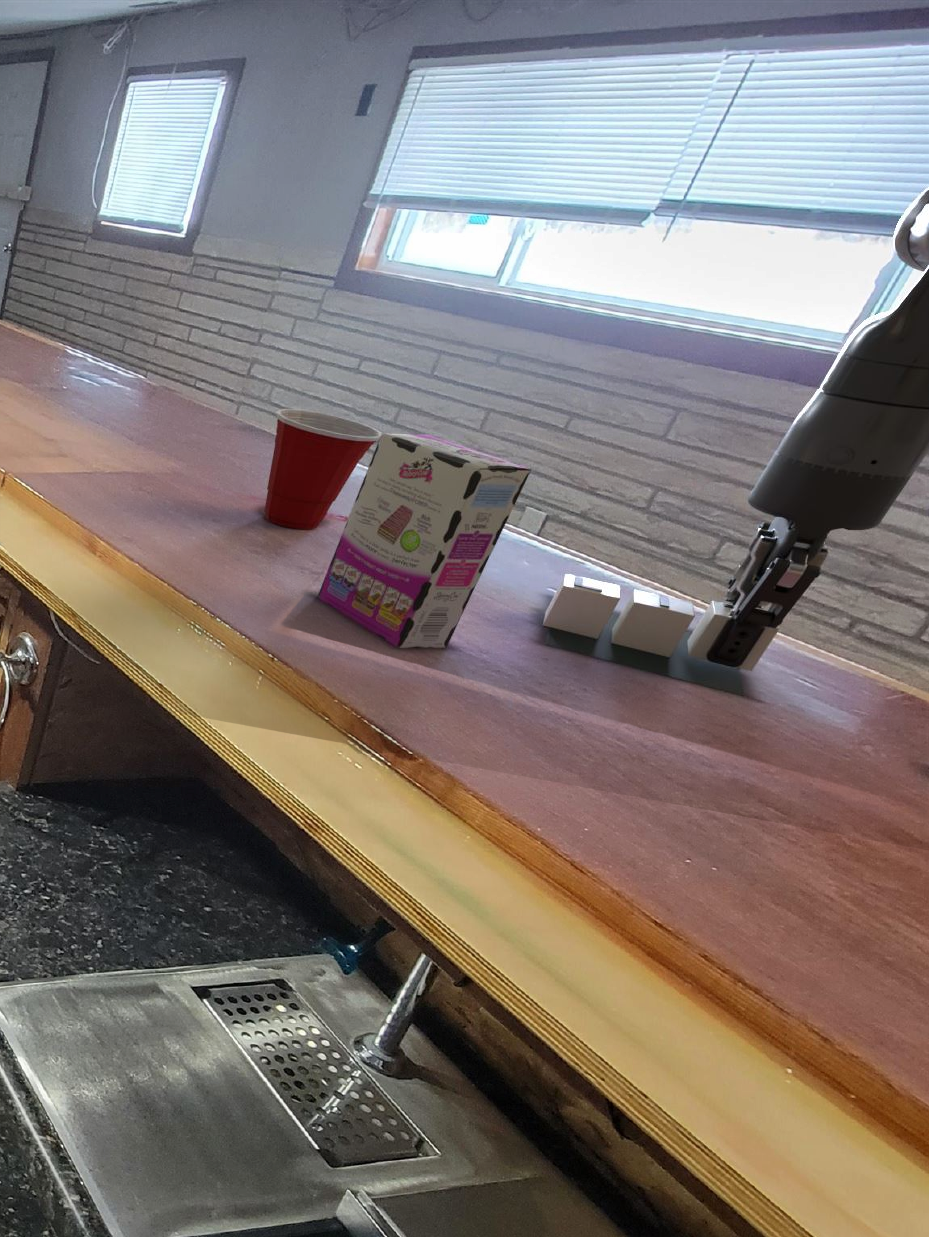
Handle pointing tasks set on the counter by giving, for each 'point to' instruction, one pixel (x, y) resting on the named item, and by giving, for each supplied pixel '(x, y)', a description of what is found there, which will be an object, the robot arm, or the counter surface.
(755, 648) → the tile
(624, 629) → the tile
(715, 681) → the word mat
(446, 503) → the candy bar box
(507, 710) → the counter surface
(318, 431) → the plastic cup
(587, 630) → the tile
